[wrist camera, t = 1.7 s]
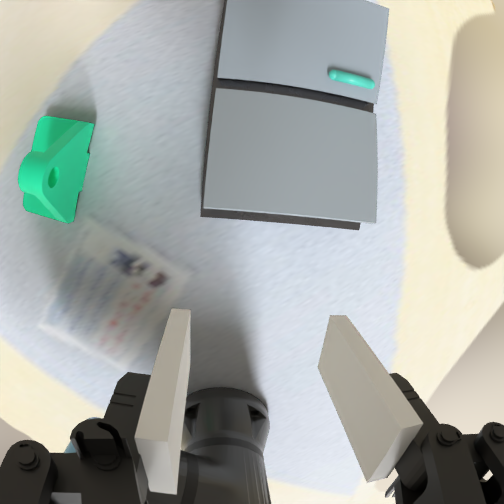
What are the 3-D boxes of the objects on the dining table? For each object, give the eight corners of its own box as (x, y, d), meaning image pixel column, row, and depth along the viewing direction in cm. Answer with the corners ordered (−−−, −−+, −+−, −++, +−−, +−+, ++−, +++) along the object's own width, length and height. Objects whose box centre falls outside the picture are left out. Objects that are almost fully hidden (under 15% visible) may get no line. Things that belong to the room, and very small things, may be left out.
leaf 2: (369, 223, 31) (375, 223, 29) (204, 208, 29) (203, 206, 28) (369, 118, 31) (375, 113, 29) (216, 94, 29) (216, 88, 27)
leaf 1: (371, 102, 30) (381, 105, 28) (217, 78, 28) (216, 77, 26) (383, 10, 24) (394, 7, 22) (231, -22, 22) (231, -30, 20)
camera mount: (50, 117, 30) (3, 109, 20) (98, 124, 31) (56, 115, 22) (32, 206, 33) (-15, 222, 23) (77, 219, 34) (35, 239, 24)
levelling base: (349, 224, 37) (359, 230, 34) (202, 212, 35) (200, 216, 33) (365, 21, 30) (375, 13, 27) (227, -5, 28) (227, -17, 25)
